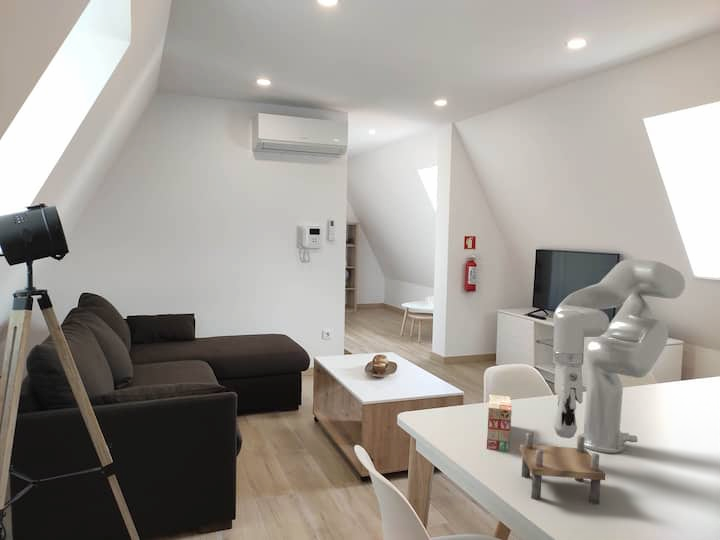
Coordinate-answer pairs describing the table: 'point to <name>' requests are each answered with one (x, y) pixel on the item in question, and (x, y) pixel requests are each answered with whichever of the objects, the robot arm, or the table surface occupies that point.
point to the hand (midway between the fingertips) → (565, 423)
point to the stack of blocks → (499, 423)
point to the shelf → (561, 465)
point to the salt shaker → (564, 429)
